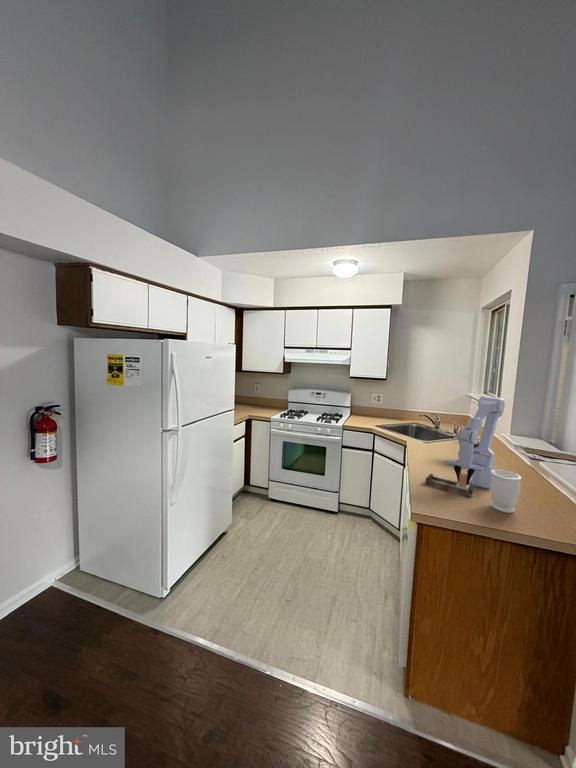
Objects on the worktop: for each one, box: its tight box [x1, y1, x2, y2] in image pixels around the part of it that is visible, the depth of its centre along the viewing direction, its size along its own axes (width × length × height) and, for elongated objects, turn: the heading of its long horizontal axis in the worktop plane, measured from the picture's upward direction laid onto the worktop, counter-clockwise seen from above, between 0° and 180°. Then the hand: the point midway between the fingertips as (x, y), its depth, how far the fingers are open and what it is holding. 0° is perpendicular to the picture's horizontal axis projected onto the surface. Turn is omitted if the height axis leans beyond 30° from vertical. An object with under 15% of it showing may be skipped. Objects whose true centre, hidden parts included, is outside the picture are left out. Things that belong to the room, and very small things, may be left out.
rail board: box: [424, 473, 476, 499], centre depth 152 cm, size 20×9×4 cm, turn 50°
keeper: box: [456, 472, 471, 490], centre depth 148 cm, size 5×5×6 cm
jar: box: [489, 469, 522, 514], centre depth 133 cm, size 11×10×15 cm
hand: (463, 482), depth 148 cm, fingers closed on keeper, 3 cm apart
